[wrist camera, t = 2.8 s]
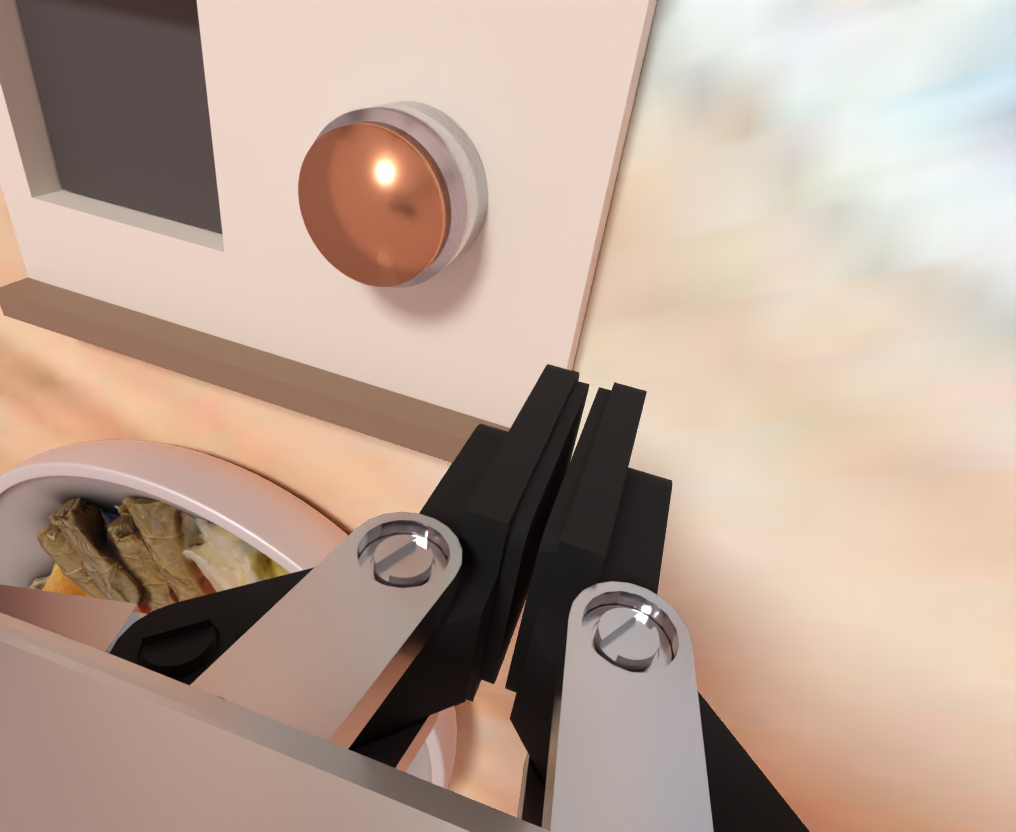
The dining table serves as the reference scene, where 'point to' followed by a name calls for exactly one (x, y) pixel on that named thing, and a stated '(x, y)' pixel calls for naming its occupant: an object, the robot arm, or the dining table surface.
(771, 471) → the dining table surface
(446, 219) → the puck
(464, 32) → the board
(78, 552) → the bowl
